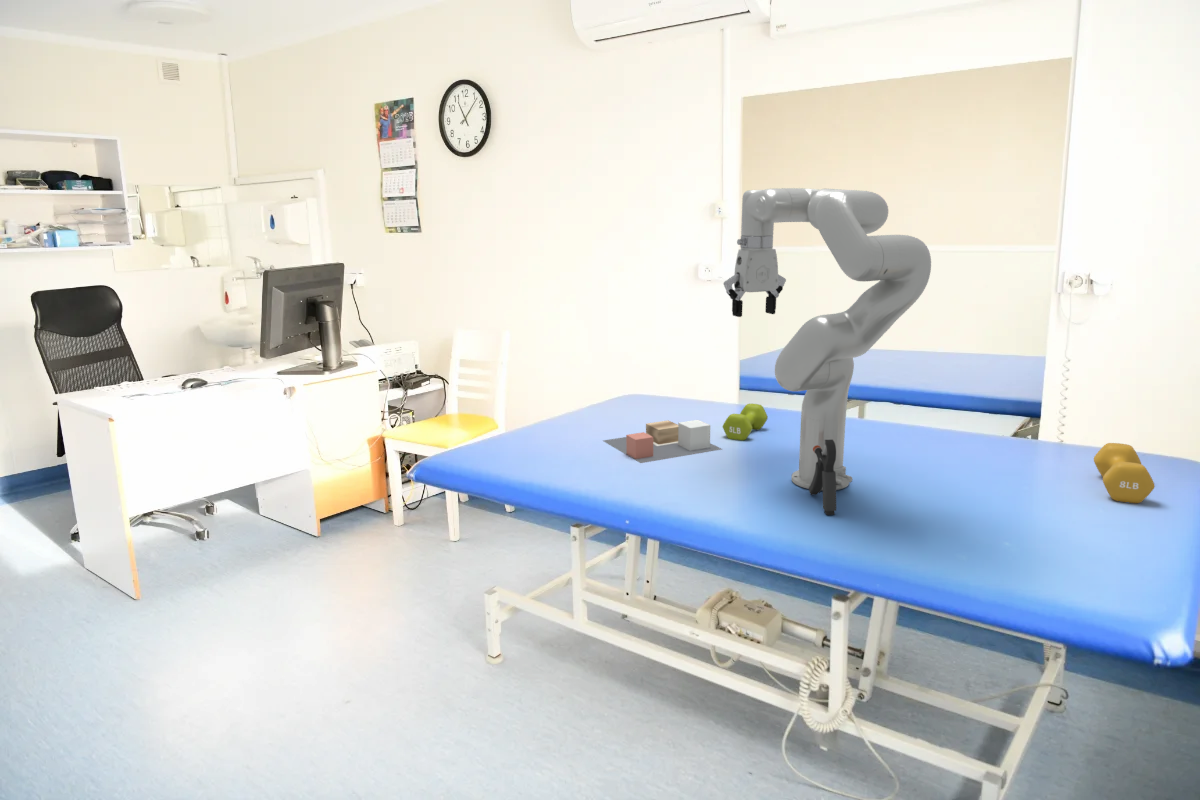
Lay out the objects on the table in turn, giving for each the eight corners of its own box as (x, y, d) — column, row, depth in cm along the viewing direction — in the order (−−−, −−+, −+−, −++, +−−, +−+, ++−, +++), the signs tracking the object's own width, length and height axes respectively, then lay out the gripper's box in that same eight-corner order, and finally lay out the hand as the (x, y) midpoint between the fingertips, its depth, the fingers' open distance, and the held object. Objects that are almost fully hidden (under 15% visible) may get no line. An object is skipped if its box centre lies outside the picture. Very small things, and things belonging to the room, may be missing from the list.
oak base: (681, 440, 207) (681, 426, 206) (658, 444, 205) (658, 429, 204) (668, 434, 214) (668, 420, 213) (646, 437, 211) (645, 423, 210)
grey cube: (710, 447, 201) (710, 425, 200) (690, 450, 199) (690, 428, 197) (697, 441, 207) (697, 419, 205) (678, 444, 204) (678, 422, 203)
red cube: (653, 456, 195) (653, 437, 194) (635, 459, 193) (635, 439, 192) (643, 450, 199) (643, 432, 198) (626, 453, 197) (626, 434, 196)
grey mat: (723, 450, 200) (723, 449, 199) (640, 464, 190) (640, 463, 190) (679, 430, 219) (679, 428, 219) (602, 442, 209) (602, 440, 209)
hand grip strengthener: (817, 494, 168) (820, 427, 165) (836, 516, 156) (840, 444, 153) (807, 494, 168) (810, 427, 165) (825, 516, 156) (829, 445, 153)
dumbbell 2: (1090, 473, 178) (1095, 439, 176) (1137, 479, 174) (1143, 444, 172) (1100, 501, 161) (1105, 464, 159) (1152, 507, 157) (1159, 469, 156)
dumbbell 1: (748, 444, 205) (749, 417, 204) (720, 440, 209) (720, 414, 208) (769, 429, 219) (770, 404, 217) (742, 425, 223) (743, 401, 221)
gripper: (735, 245, 178) (732, 319, 183) (796, 243, 185) (792, 314, 189) (717, 243, 185) (715, 315, 189) (776, 241, 192) (773, 310, 196)
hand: (753, 314), depth 189 cm, fingers open, 9 cm apart
